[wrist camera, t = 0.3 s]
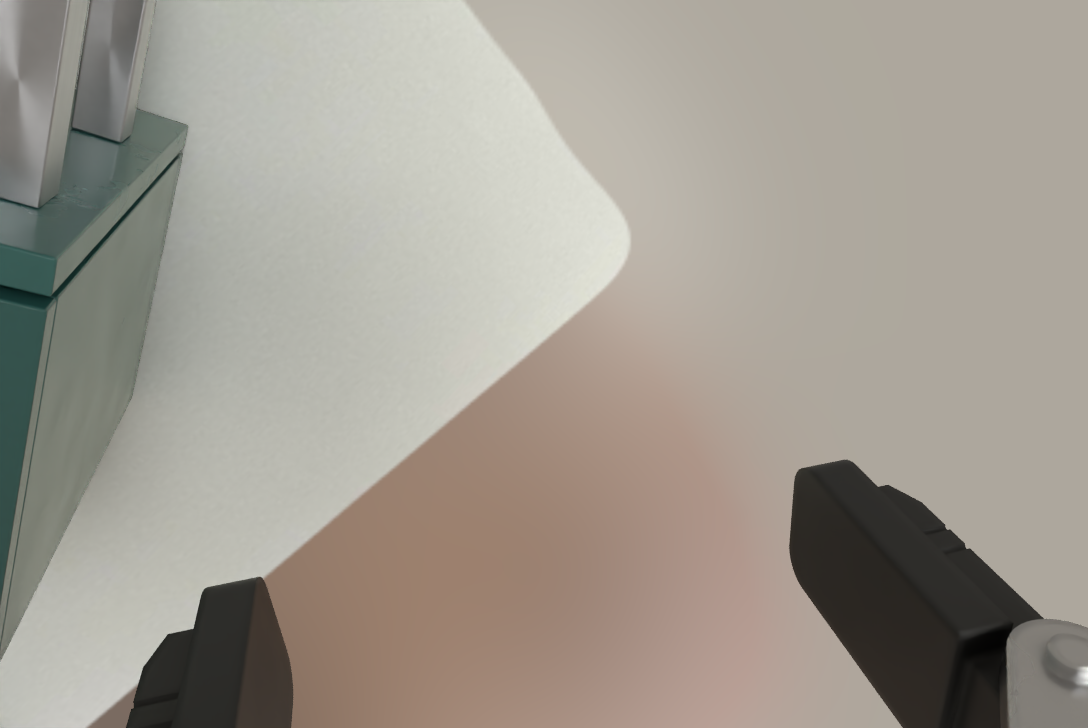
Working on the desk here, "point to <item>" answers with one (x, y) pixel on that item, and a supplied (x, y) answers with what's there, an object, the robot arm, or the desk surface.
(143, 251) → the fridge
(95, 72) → the fridge door
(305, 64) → the desk surface
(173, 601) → the desk surface
